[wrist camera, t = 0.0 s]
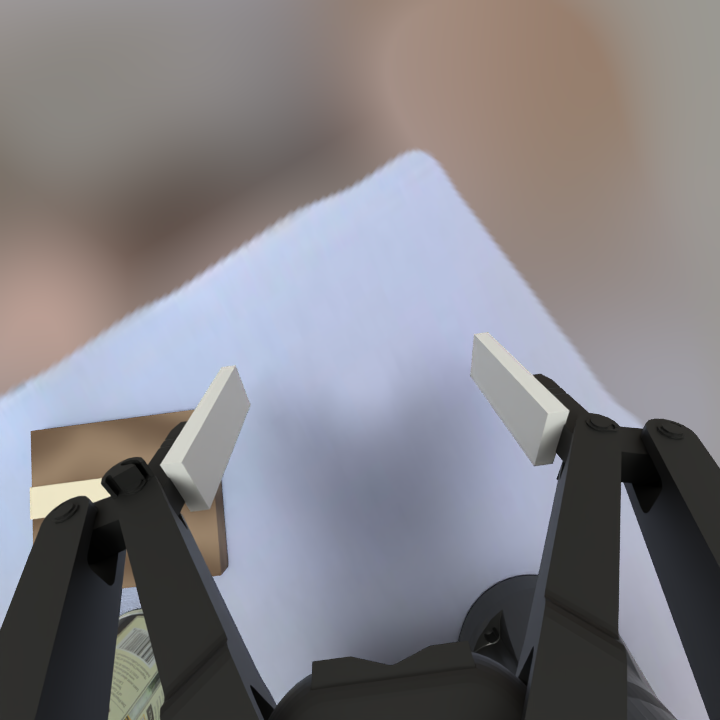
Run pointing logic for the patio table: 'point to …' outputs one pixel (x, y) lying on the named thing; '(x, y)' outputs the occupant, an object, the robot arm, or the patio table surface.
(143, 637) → the coffee can
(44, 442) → the board
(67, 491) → the strip
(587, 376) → the patio table surface
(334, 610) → the patio table surface
